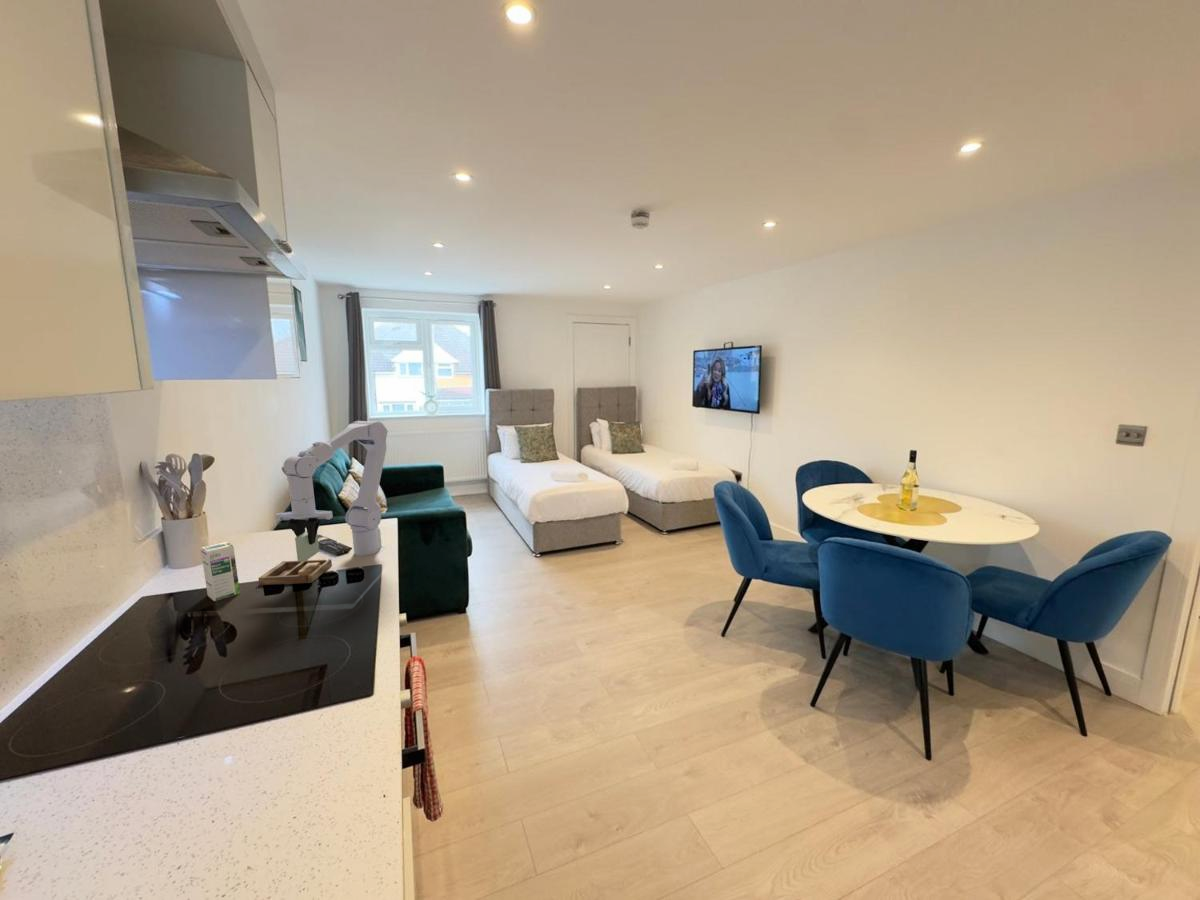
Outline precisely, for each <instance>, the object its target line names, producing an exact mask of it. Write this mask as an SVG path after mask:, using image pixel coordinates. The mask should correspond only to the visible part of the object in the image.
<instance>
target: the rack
mask: <svg viewBox="0 0 1200 900" xmlns="http://www.w3.org/2000/svg"><path fill="white" fill-rule="evenodd" d="M317 562H320V565H321V566H320V567H319V568H317V569H316V570H315V571H314V572H313V573H311V574H310V575H309V576H308V577H309V579H308V577H307V575H298V571H299V570H301V569H302V568H303V567H304V566H305V565H306V564H307V563H317ZM332 566H333V563H332V559H331V558H330V559H328V560H327V559H308V560H307V561H305V562H298V560H285V561H284V560H283V561H281V562H280V563H278V564H277V565H275V566H274V567H273V568H271V569H269V570H268V571H266V572H265V573H264V574H262V575H260V576H259V577H258V585H259V586H268V585H270V586H271V585H289V584H291V585H292V584H311V583H314V582H315V581H316V580H317V579H318V578H319V577H321V575H323V574H324V573H326V572H327V570H329V569H330V568H331V567H332Z"/></svg>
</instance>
